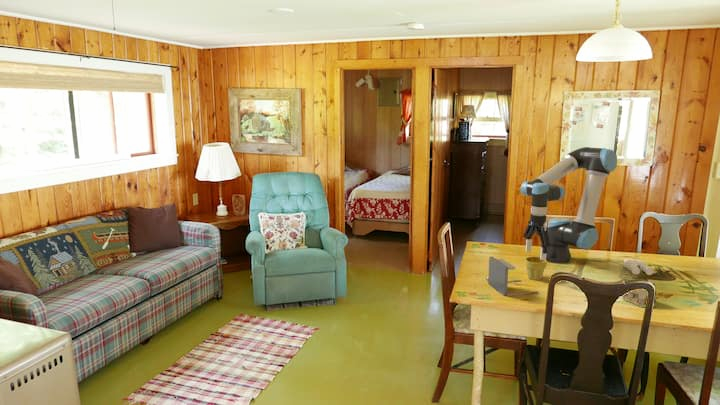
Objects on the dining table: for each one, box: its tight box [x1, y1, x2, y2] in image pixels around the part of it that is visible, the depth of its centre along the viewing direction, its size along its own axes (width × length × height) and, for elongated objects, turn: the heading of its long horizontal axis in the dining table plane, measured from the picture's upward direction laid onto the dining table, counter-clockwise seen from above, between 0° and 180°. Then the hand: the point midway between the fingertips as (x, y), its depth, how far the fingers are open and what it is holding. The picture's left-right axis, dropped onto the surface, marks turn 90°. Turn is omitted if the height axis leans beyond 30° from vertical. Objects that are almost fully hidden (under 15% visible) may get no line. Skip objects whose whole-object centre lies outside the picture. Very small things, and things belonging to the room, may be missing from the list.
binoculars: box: [623, 258, 655, 276], centre depth 262 cm, size 10×16×5 cm, turn 170°
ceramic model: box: [622, 289, 658, 309], centre depth 221 cm, size 14×11×10 cm
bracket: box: [487, 256, 540, 297], centre depth 238 cm, size 18×18×14 cm
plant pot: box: [524, 256, 548, 281], centre depth 252 cm, size 10×10×10 cm
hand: (535, 255), depth 250 cm, fingers open, 13 cm apart
